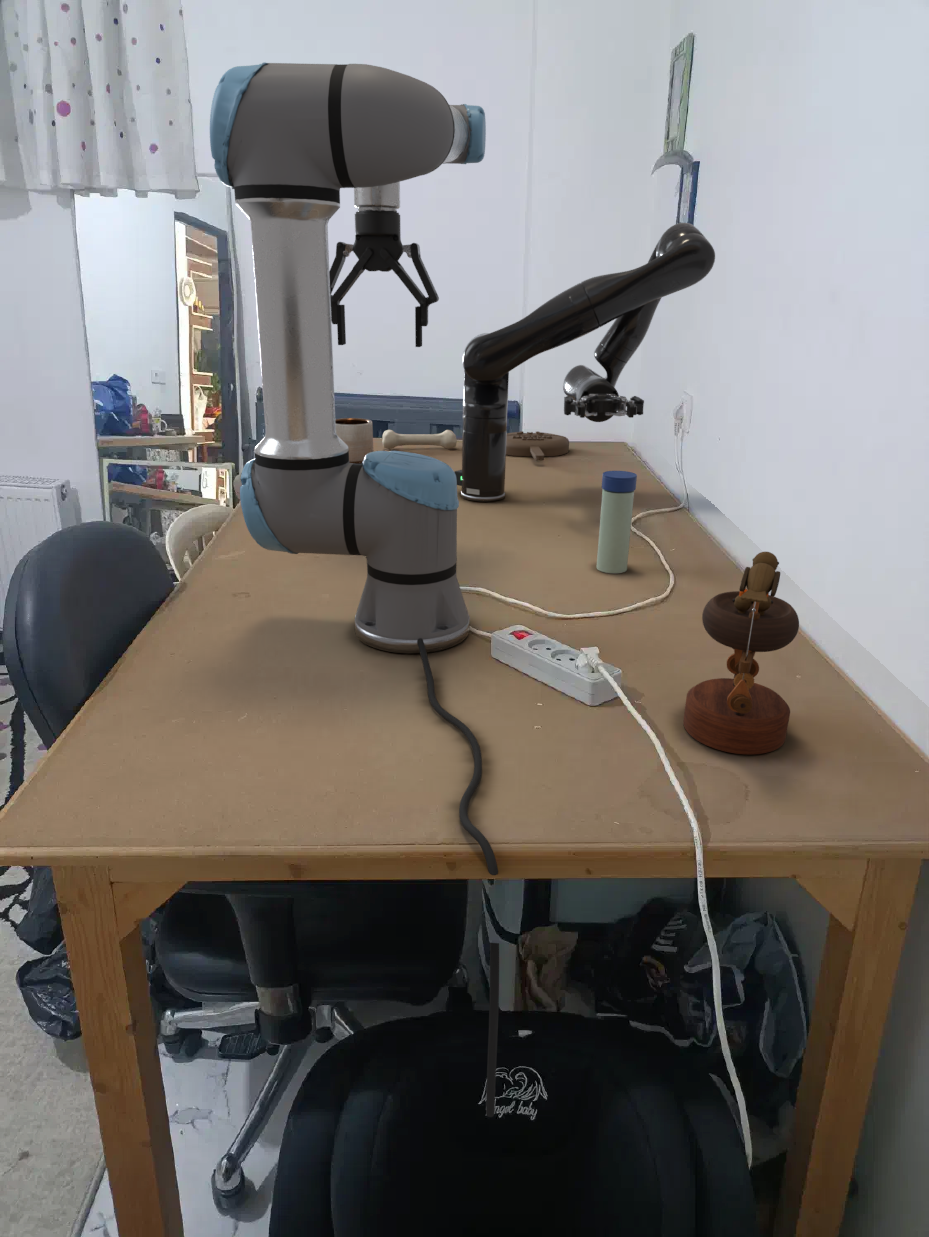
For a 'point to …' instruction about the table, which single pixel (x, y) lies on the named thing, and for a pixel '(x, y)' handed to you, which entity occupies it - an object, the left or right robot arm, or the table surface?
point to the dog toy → (419, 439)
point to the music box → (744, 666)
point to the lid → (619, 481)
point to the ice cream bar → (536, 444)
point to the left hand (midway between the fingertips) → (380, 345)
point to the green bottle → (614, 531)
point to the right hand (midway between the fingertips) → (607, 411)
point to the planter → (356, 437)
